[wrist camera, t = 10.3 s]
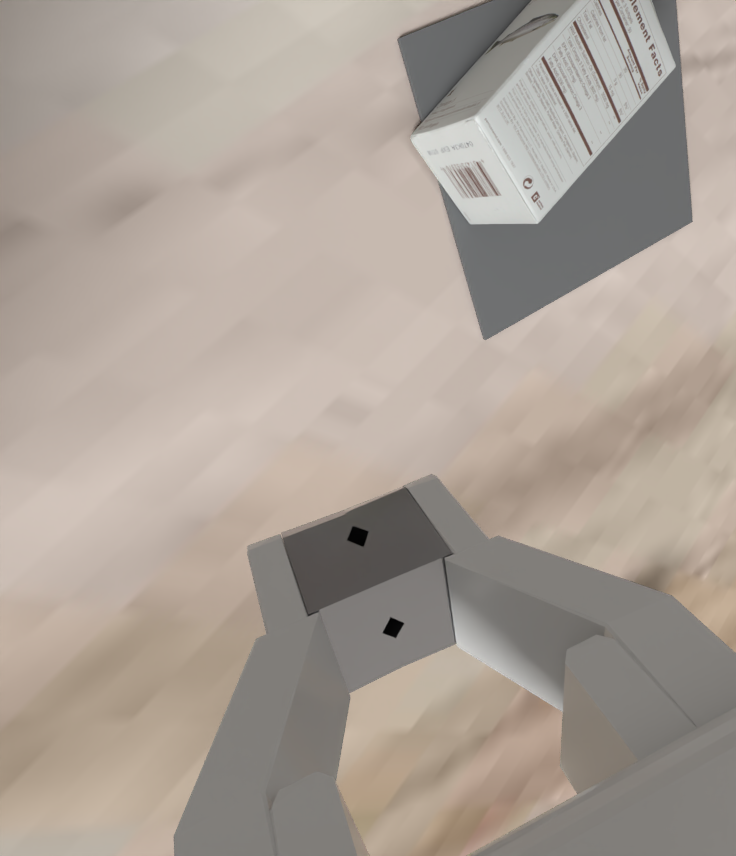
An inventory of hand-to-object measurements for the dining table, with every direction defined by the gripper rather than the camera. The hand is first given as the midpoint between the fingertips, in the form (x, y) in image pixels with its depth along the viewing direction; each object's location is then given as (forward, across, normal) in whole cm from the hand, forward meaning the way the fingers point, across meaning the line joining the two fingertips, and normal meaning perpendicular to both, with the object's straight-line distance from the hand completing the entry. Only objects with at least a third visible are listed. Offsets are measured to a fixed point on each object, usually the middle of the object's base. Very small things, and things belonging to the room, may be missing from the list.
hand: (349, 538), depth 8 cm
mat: (+30, -27, +1) cm, 40 cm away
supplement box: (+25, -16, +1) cm, 30 cm away
